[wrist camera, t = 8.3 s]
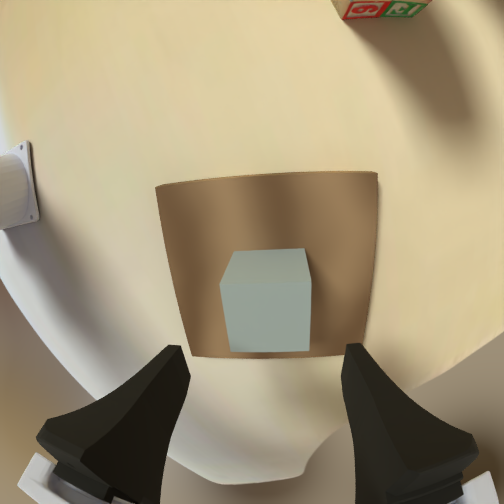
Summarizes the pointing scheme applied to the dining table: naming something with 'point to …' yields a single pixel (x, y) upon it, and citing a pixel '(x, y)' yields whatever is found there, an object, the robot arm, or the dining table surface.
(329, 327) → the walnut board
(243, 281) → the slate cube
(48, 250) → the dining table surface
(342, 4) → the stack of blocks
